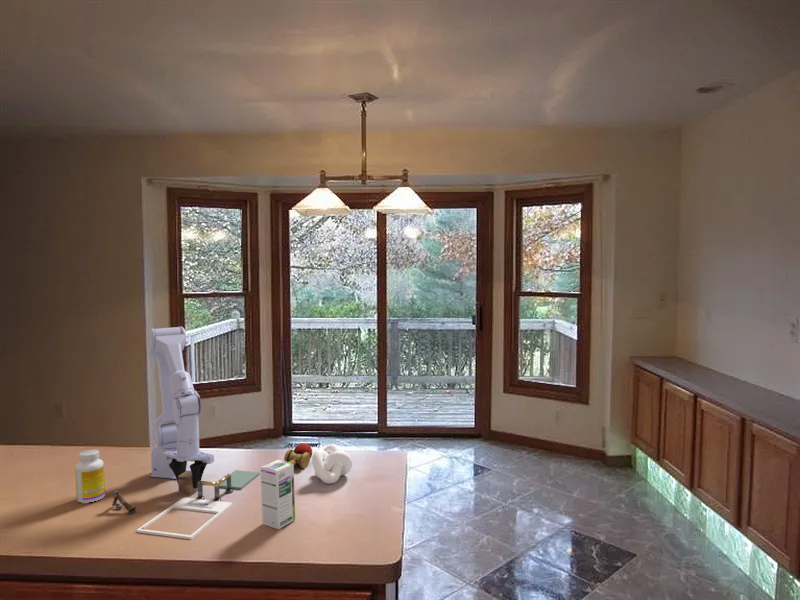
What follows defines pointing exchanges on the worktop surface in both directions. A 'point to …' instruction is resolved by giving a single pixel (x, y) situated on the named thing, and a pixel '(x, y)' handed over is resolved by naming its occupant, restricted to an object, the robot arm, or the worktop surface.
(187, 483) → the walnut block
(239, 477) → the mat
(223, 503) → the white flat frame
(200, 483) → the brass corner rail
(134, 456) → the worktop surface
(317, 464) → the white knot sculpture
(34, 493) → the worktop surface
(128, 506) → the wooden post with brackets
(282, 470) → the syrup box
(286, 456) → the kendama
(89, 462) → the supplement bottle
